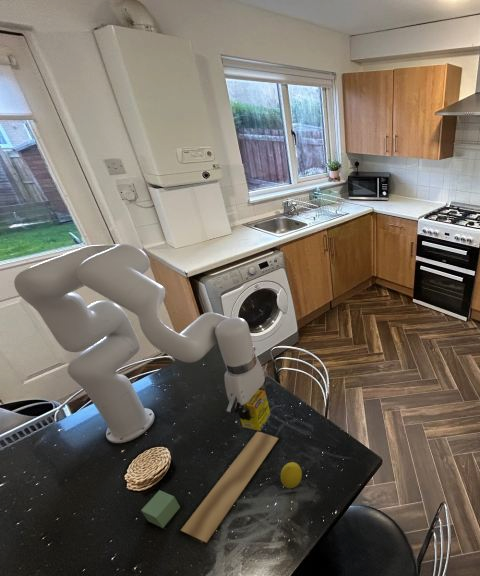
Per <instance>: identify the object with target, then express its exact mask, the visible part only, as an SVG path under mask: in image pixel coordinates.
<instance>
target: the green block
mask: <svg viewBox="0 0 480 576" xmlns="http://www.w3.org/2000/svg"><path fill="white" fill-rule="evenodd" d="M180 508H181V506H180V504H179V502H178V501H177V499H176V496H174V495H172V494H169V493H167V492H165V491H163V490H160V489H159V490H158V491H157V492H156V494H154V495H153V497H151V499H150V500H149V501H148V502H147V503H146V504H145V505H144V506H143V507H142V509H141V510H140V512H141V513H142V515H143V516H144V517H145V519H146V520H147V522H149V523H151V524H153V525H155V526H157V527H160V528H161V529H164V528H165V526H166V525H167V524H168V523H169V522H170V521H171V519H172V518H173V517H174V516H175V514H176V513H177V512H178V511H179V510H180Z"/></svg>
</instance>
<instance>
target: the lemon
mask: <svg viewBox="0 0 480 576" xmlns="http://www.w3.org/2000/svg"><path fill="white" fill-rule="evenodd" d="M302 477H303V470H302V468H301V466H300V465H299V464H298V463H297V462H294V461H291V462H288V463H286V464H285V465H283V467H282V468H281V471H280V481H281V484H282V485H283V486H284V487H285V488H287V489H294V488H296V487H297V486H299V484H300V483H301V481H302Z"/></svg>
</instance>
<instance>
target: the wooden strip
mask: <svg viewBox="0 0 480 576" xmlns="http://www.w3.org/2000/svg"><path fill="white" fill-rule="evenodd" d="M279 439H280V438H279V437H276V436H273V435H271V434H268V433H264V432H262V431H261V432H258V431H255V433H254V435H253V436H252V437H251V439H250V440H249V441H248V442H247V444H246V445H245V446H244V447H243V449H242V450H241V451H240V453H239V454H238V455H237V457H236V458H235V459H234V460H233V462H231V464H230V466H229V467H228V468H227V470H225V472H224V473H223V474H222V475H221V477H220V479H219V480H218V481H217V482H216V484H215V485H214V486H213V488H212V489H211V490H210V492H209V493H208V494H207V495H206V497H204V499H203V500H202V501H201V503H200V504H199V506H198V507H197V508H196V509H195V511H194V512H193V513H192V515H191V516H190V517H189V518H188V520H187V521H186V522H185V524H184V525H183V526H182V528H181V529H180V531H181V532H182V533H184V534H187V535H189V536H191V537H193V538H194V539H198V540H199V541H201V542H204V543H206V544H207V543H208V542H209V540H210V539H211V537H212V536H213V534H214V533H215V532H216V530H217V529H218V527H219V526H220V524H221V523H222V522H223V520H224V518H225V517H226V516H227V515H228V513H229V512H230V510H231V508H232V507H233V506H234V504H235V503H236V502H237V500H238V498H239V497H240V496H241V494H242V493H243V491H244V490H245V488H246V487H247V485H248V484H249V482H250V481H251V479H253V477H254V475H255V474H256V472H257V471H258V469H259V468H260V467H261V465H262V464H263V462H264V461H265V459H266V458H267V456H268V455H269V454H270V452H271V450H272V449H273V448H274V446H275V444H276V443H277V442H278V440H279Z"/></svg>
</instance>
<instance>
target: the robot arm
mask: <svg viewBox="0 0 480 576" xmlns="http://www.w3.org/2000/svg"><path fill="white" fill-rule="evenodd" d="M150 266H151V260H150V258H149V256H148V255H147V253H146V252H145V251H143V250H142V249H141V248H139V247H138V246H135V245H131V244H127V243H113V244H111V243H110V244H94V245H86V246H83V247H80V248H77V249H75V250H72V251H68V252H66V253H64V254H61V255H58V256H55V257H53V258H50V259H47V260H44V261H42V262H39V263H36V264H34V265H32V266H30V267H28V268H25V269H24V270H22V271H20V272H19V273H18V274H16V276H15V278H14V280H13V283H14V289H15V290H16V292H17V294H18V295H19V296H20V298H22V299H23V300H24V301H25V302H26V303H27V304H29V305H30V306H31V307H32V308H34V309H35V311H37V313H38V314H39V315H40V317H41V318H42V320H43V322H44V324H45V325H46V326H47V328H48V329H49V331H50V332H51V334H52V336H53V337H54V339H55V340H56V342H57V343H58V345H60V346H59V347H61V348H62V349H63V350H64V351H67V352H69V353H78V354H77V355H76V356H75V357H73V358H72V359H71V360H70V362H69V363H68V365H67V369H66V371H67V372H66V373H67V374H68V376H69V377H70V378H71V379H72V380H73V381H74V382H75V383H76V384H78V385H79V386H80V388H81V389H83V391H84V392H85V393H86V395H87V397H88V398H89V399H90V400H91V402H92V404H93V405H94V407H95V408H96V410H97V412H98V413H99V415H100V416H101V418H102V419H103V421H104V423H105V424H106V426H107V429H106V431H105V437H106V439H107V441H108V442H110V443H112V444H123V443H127V442H131V441H132V440H135V439H137V438H138V437H140V436H142V435H143V434H144V433H146V432H147V431H148V429H150V428H151V426H152V425H153V423H154V421H155V413H154V412H153V410H152V409H151V408H148V407H144V405H143V403H142V401H141V399H140V398H139V395H138V394H137V391H136V390H135V388H134V386H133V384H132V382H131V381H130V379H129V378H128V377H127V376H126V375H124V374H121V373H117V371H118V370H119V369H120V368H122V366H124V365H125V364H126V363H127V362H128V361H130V360H131V359H132V358H133V357H134V356H135V355H137V353H138V352H139V351H140V349H141V343H140V339H139V337H138V335H137V333H136V330H135V329H134V327H133V324H132V322H131V320H130V318H129V316H128V314H127V313H126V312H125V310H127V311H129V312H131V313H132V314H134V315H135V316H136V317H137V318H138V319H137V320H138V323H139V327H140V330H141V331H142V334H143V336H144V337H145V338H146V339H147V341H148V342H149V343H150V344H151V345H152V347H154V348H156V350H158V351H160V352H162V353H164V354H166V355H167V356H169V357H171V358H172V359H175V360H178V361H180V362H183V363H190V364H191V363H192V364H193V363H196V362H198V361H201V359H203V358H204V357H205V356H206V355H207V354H208V353H209V352H210V351H211V349H212V348H213V347H214V346H215V345H216V344H218V347H219V351H220V354H221V357H222V360H223V364H224V368H225V370H226V371H225V373H224V387H225V392H226V393H225V394H226V396H227V400H228V405H227V408H226V413H229V414H238V416H239V419H240V418H241V419H242V420H248V421H249V420H250V419H251V417H250V414H249V410H248V409H246V406H247V402H248V401H249V400H250V398H251V397H252V396H253V395H254V394H255V393H256V392H257V391H258V390H263V391H266V382H267V377H268V373H269V371H268V370H265V369H263V367H262V364H261V362H260V360H259V358H258V357H257V356H256V352H255V351H256V347H255V346H254V343H253V339H252V335H251V331H250V327H249V324H248V322H247V321H246V319H244V318H241V317H228V316H225V315H222V314H220V313H217V312H212V311H209V312H204V313H203V314H200V315H199V316H198V317H197V318H196V319H195V320H194V321H192V322H191V323H190V324H189V325H188V326H186V327H185V328H184V329H183V330H182V331H181V332H180V333H178V332H177V331H175V330H173V329H171V328H170V327H168V326H167V325H166V324H164V322H163V321H162V319H161V318H160V315H159V309H160V307H161V305H162V303H163V301H164V300H165V297H166V288H165V287H164V286H163V285H162V284H160V283H159V282H156V281H155V280H153V279H152V278H150V277H148V276H147V275H145V274H144V273H146V272H147V271H148V270H149V269H150ZM83 287H87V288H88V289H90V290H92V291H93V292H95V293H97V294H99V295H101V296H103V297H104V298H106V299H108V300H105V299H103V300H98V301H97V300H96V301H95V302H92V303H91V304H89V305H87V303H86V300H84V298H83V297H82V295H80V294H78V293H77V292H75V291H77V290H79V289H82V288H83ZM123 308H124V309H125V310H124V309H123ZM240 404H241V405H242V406H240Z"/></svg>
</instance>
